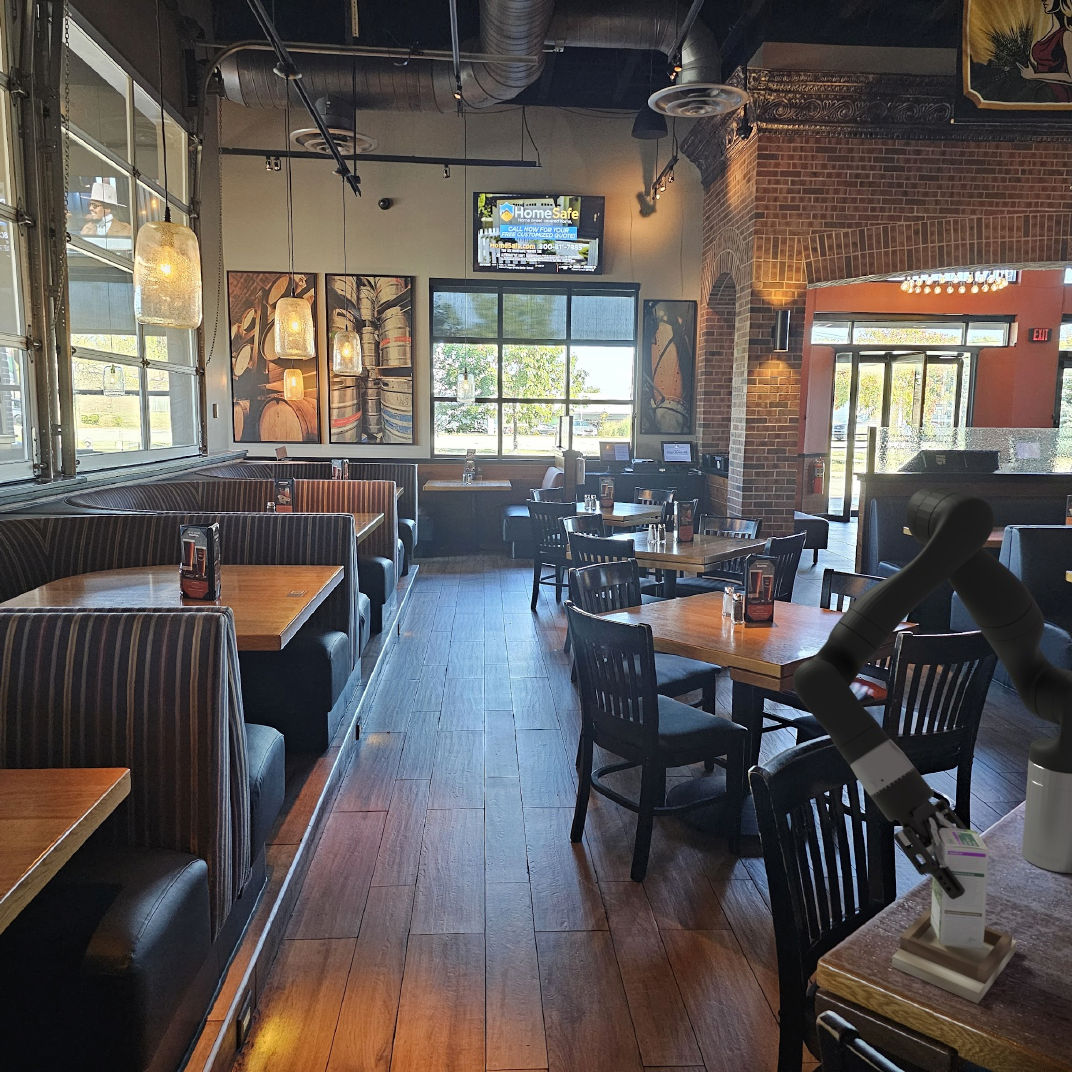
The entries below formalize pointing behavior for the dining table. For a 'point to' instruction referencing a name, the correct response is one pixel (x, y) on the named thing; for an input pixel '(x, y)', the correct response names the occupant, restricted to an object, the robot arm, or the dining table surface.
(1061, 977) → the dining table surface
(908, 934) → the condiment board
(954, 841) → the syrup box
